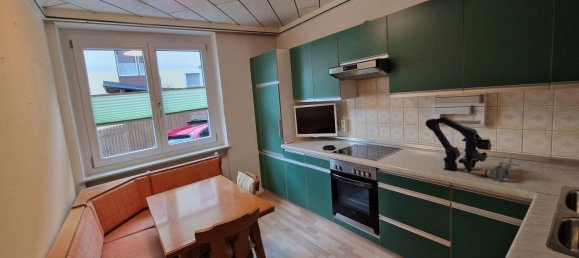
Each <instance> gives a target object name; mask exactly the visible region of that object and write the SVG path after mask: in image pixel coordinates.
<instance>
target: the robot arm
mask: <svg viewBox="0 0 579 258" xmlns="http://www.w3.org/2000/svg"><path fill="white" fill-rule="evenodd" d="M424 123H425V126H426V127H427V128H428V129H429V130H430V131H432V132H433V134H434V135H435V136H436V138H437V139H438V141H439V143H441V146H442V147H443V149H444V153H445V155H446V156H445V157H444V158H443V162H444V168H443V170H445V171H449V172H454V171H456V170H458V164H463V166H464V167H465V168H466V169H467V171H468V172H470V169H471V167H473V168H476V167H475V166H476V164H477V163H478V162H479V161H480V162H485V161H486V159H488V154H487V152H485V151H490V150H491V149H492V143H491V142H492V141H491V139H490V138H489V139H487V138H486V139H485V138H482V137H481V136H480V135H479V133H478V131H477V130H476V129H475V128H471V127H468V126H464V125H462V124H460V123H459V122H456V121H455V120H452V119H450V118H449V117H447V116H441V117H439V118H434V117H433V118H429V119H427V120H426V121H425V122H424ZM440 124H444V125H446V126H447V127H449V128H451V129H453V130H455V131H456V132H459V133H460V134H461V135H462V136H463V137H464V138H463V139H462V140H461V141H462V142H464V143H465V144H464V145H465V146H464V147H465V148H464V149H463V152H464V154H465V155H463V157H462V158H460V157H461V151H460V150H459V149H458V147H457V146H453V145H452V144H451V142H450V141H449V140H448V139H447V137H446V135H445V134H444V133H443V131H442V129H441V127H440ZM479 150H485V151H484V152H479ZM457 160H458V163H457Z"/></svg>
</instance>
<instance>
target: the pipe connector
mask: <svg viewBox="0 0 579 258" xmlns="http://www.w3.org/2000/svg"><path fill="white" fill-rule="evenodd" d="M499 164H503V165H504V166H505V165H509V172H512V171H511V169H512V166H515V167H519V166H521V163H519V162H513V161H512V155H507V161H501V160H500V161H499V162H498V165H499Z"/></svg>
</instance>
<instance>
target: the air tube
mask: <svg viewBox="0 0 579 258" xmlns="http://www.w3.org/2000/svg"><path fill="white" fill-rule="evenodd" d="M463 171H464V173H469V174H474V175H479V176H484V177H487V178H488V177H489V178H493V170H490V169H483V168H479V167H474V168H473V167H471V169H470V172H468V171H467V169H466V168H465V166H464V168H463Z"/></svg>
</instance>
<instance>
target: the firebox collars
mask: <svg viewBox="0 0 579 258" xmlns="http://www.w3.org/2000/svg"><path fill="white" fill-rule="evenodd" d="M492 171H493V177H492V178H491V180H492V181H493V180H494V182H497V181H499V182H498V183H503V182H504V179H506V178H507V179H510V171H509V165H505V164H499V163H498V164H497V165H496V166H494V167H493V169H492ZM507 179H506V180H507ZM502 181H503V182H502Z"/></svg>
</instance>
